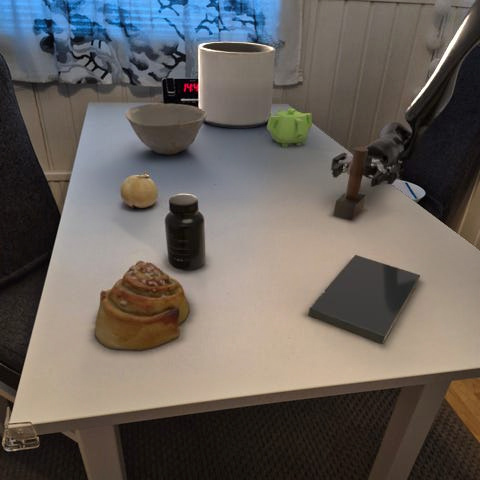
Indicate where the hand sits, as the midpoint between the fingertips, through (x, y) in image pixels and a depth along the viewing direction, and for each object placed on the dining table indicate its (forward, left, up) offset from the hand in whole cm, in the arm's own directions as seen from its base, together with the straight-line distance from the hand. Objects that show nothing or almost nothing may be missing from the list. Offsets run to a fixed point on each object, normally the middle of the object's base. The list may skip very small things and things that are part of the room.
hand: (353, 177), depth 94 cm
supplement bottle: (+40, -6, -9) cm, 41 cm away
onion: (+33, -32, -9) cm, 47 cm away
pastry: (+55, +3, -9) cm, 55 cm away
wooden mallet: (-1, 0, -9) cm, 9 cm away
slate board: (+24, +22, -9) cm, 33 cm away
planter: (-32, -72, -9) cm, 80 cm away
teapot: (-28, -43, -9) cm, 53 cm away
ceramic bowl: (+6, -59, -9) cm, 60 cm away
